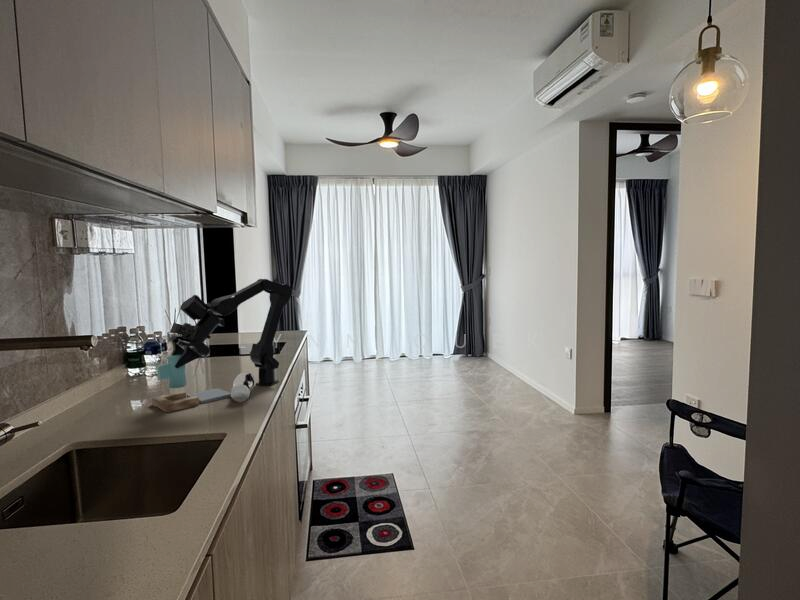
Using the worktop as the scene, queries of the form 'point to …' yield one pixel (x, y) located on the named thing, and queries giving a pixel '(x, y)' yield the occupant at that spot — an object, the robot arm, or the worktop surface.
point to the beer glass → (242, 387)
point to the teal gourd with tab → (172, 372)
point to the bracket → (174, 401)
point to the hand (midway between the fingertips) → (172, 366)
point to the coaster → (210, 395)
